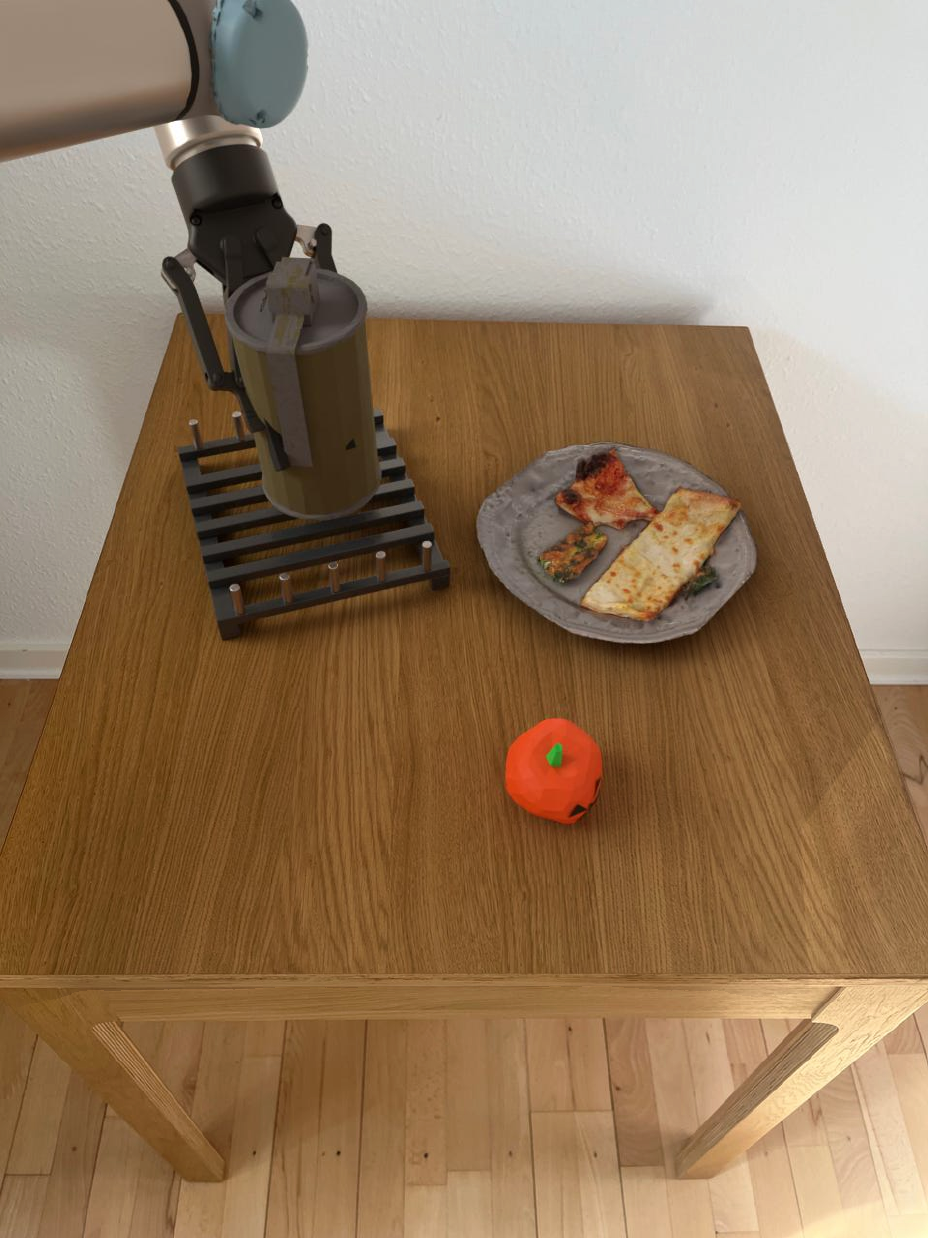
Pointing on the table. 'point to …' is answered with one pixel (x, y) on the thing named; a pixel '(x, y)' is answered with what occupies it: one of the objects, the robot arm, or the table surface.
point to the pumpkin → (554, 771)
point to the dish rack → (300, 533)
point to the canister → (309, 386)
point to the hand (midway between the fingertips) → (315, 459)
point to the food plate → (617, 542)
